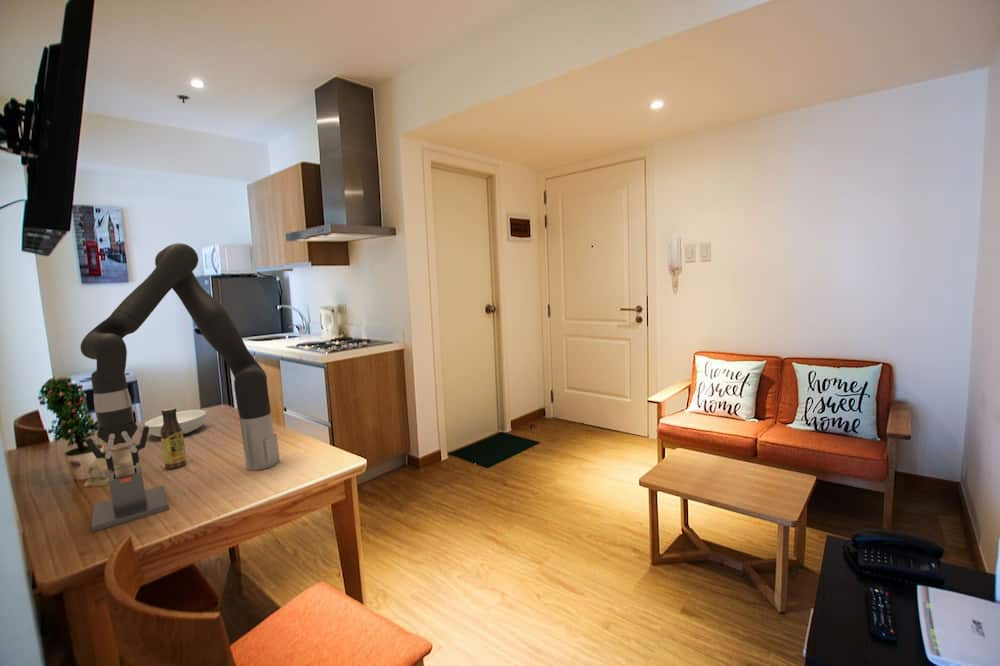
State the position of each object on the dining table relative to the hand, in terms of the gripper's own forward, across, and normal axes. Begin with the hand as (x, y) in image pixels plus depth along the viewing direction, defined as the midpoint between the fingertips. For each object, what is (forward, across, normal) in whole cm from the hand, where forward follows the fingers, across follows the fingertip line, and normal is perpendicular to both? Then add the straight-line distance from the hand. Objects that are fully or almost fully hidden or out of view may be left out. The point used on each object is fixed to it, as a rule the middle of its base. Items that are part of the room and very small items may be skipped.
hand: (124, 467), depth 129 cm
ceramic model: (+13, +4, -33) cm, 36 cm away
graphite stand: (+12, 0, 0) cm, 12 cm away
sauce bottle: (+12, -13, -28) cm, 33 cm away
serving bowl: (+13, -17, -71) cm, 74 cm away
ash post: (+11, 0, 0) cm, 11 cm away
